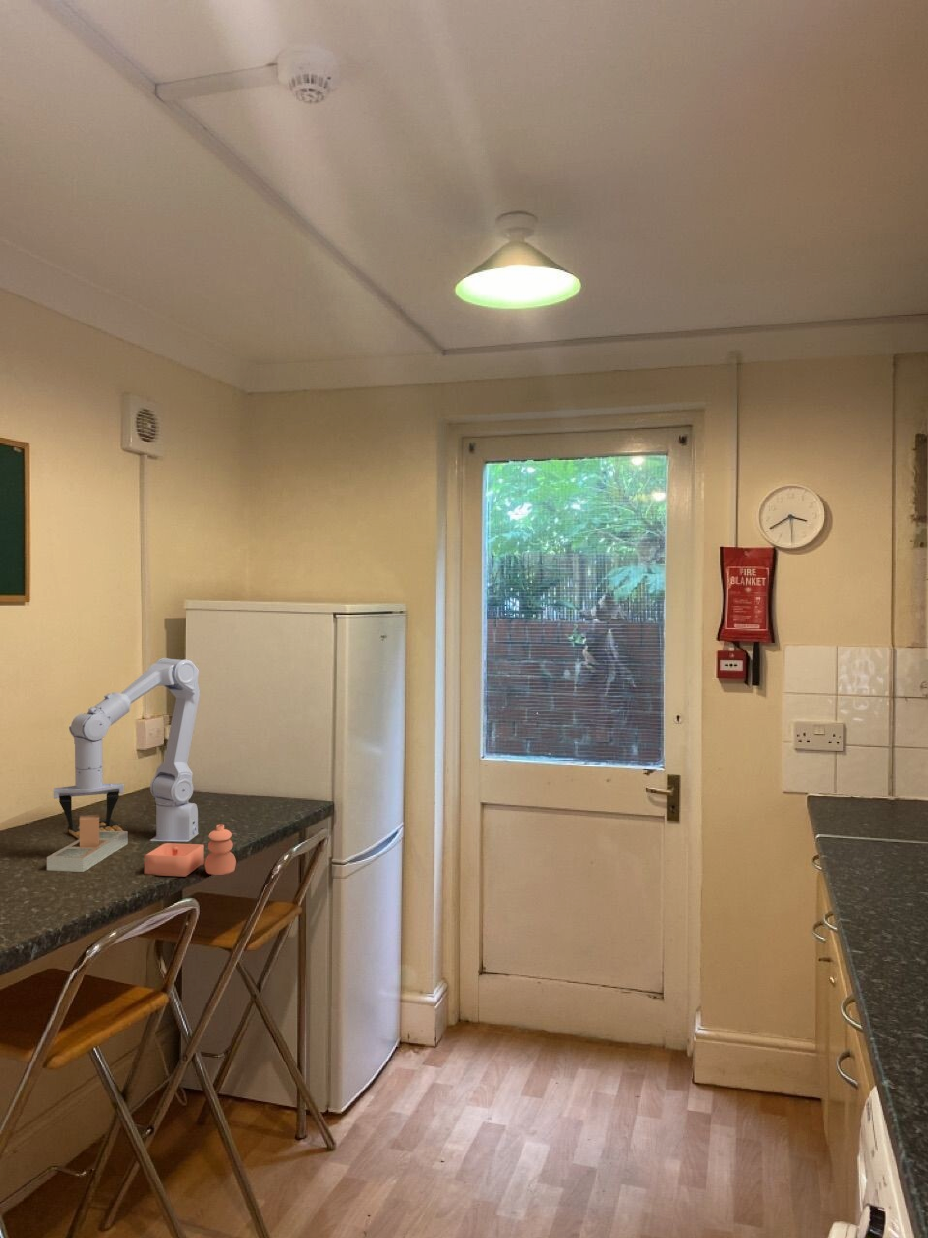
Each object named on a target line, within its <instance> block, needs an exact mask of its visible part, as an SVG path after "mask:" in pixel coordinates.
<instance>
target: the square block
mask: <svg viewBox="0 0 928 1238" xmlns="http://www.w3.org/2000/svg"><path fill="white" fill-rule="evenodd" d="M99 821H100V815H99V814H90V815H88V814H87V815H79V825H80V847H97V846H99Z"/></svg>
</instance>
